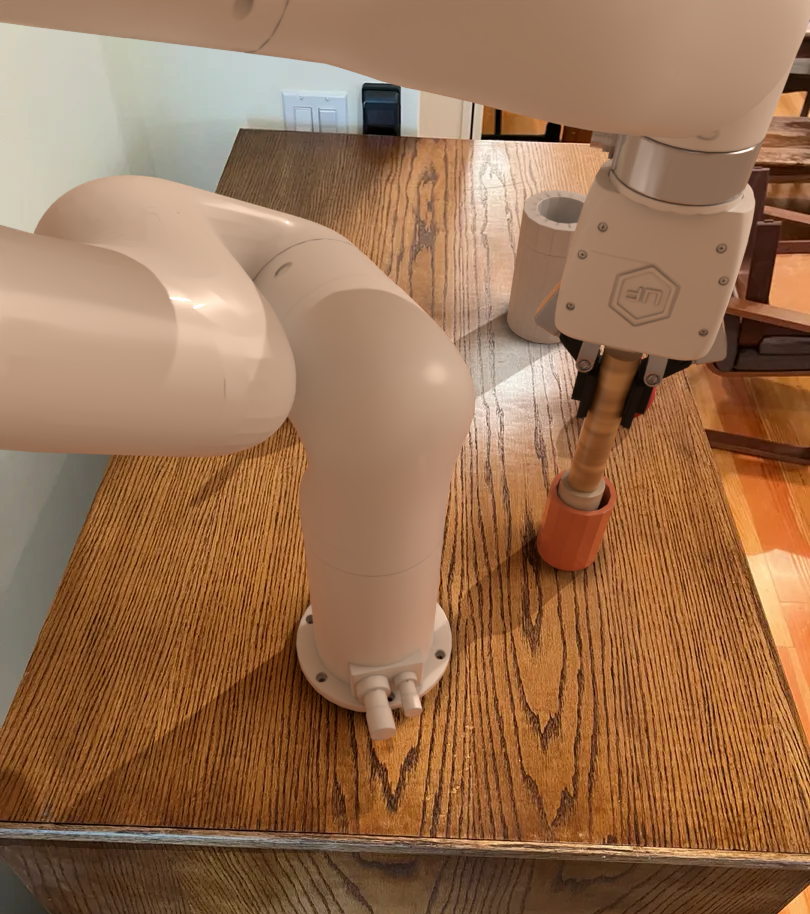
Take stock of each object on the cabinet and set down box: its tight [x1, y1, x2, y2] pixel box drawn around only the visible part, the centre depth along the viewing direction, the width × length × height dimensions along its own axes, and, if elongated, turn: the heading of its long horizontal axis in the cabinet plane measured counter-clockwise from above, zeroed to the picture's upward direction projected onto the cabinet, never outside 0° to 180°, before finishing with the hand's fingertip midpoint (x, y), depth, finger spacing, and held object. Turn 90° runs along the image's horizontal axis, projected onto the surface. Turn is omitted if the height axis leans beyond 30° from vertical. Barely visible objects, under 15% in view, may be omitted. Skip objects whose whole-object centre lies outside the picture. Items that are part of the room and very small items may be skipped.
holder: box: [535, 469, 618, 572], centre depth 67 cm, size 5×6×8 cm
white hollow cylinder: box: [506, 189, 587, 345], centre depth 87 cm, size 9×9×14 cm
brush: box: [557, 346, 643, 512], centre depth 60 cm, size 4×4×18 cm
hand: (605, 410), depth 57 cm, fingers closed on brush, 2 cm apart
